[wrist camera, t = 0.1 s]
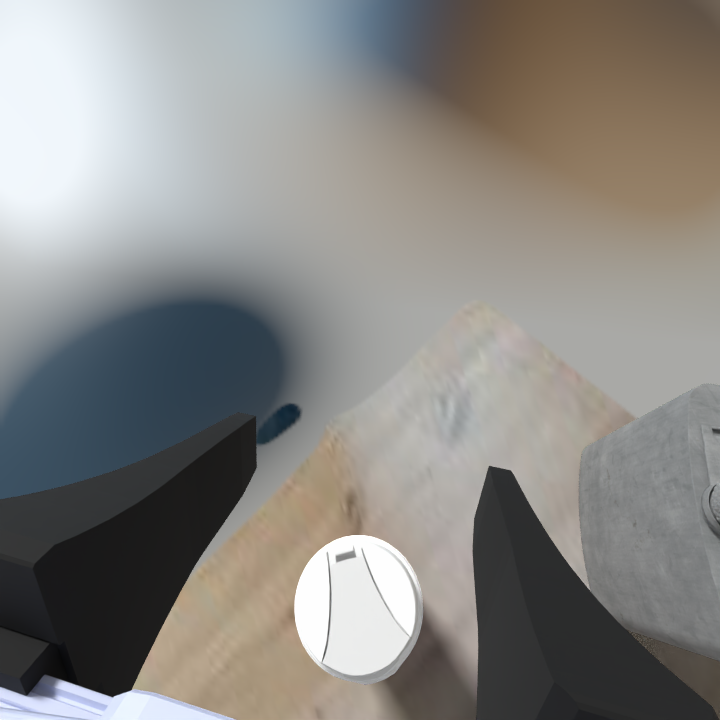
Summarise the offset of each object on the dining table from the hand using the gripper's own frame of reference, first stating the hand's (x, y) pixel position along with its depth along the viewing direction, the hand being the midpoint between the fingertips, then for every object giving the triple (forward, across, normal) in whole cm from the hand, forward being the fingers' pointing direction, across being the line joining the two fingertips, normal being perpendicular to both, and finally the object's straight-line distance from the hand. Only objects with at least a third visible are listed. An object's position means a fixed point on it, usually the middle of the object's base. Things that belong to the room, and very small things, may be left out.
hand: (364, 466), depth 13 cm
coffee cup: (+17, 0, +28) cm, 33 cm away
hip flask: (+25, -20, +22) cm, 38 cm away
